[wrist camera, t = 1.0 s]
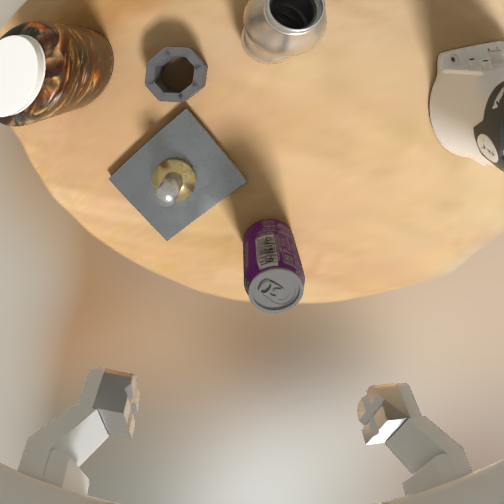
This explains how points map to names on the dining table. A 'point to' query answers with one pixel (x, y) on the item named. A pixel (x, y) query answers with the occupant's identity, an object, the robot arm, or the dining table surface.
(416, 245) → the dining table surface
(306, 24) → the plastic bottle
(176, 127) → the post stand
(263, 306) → the beverage can
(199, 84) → the octagonal nut
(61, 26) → the jar
